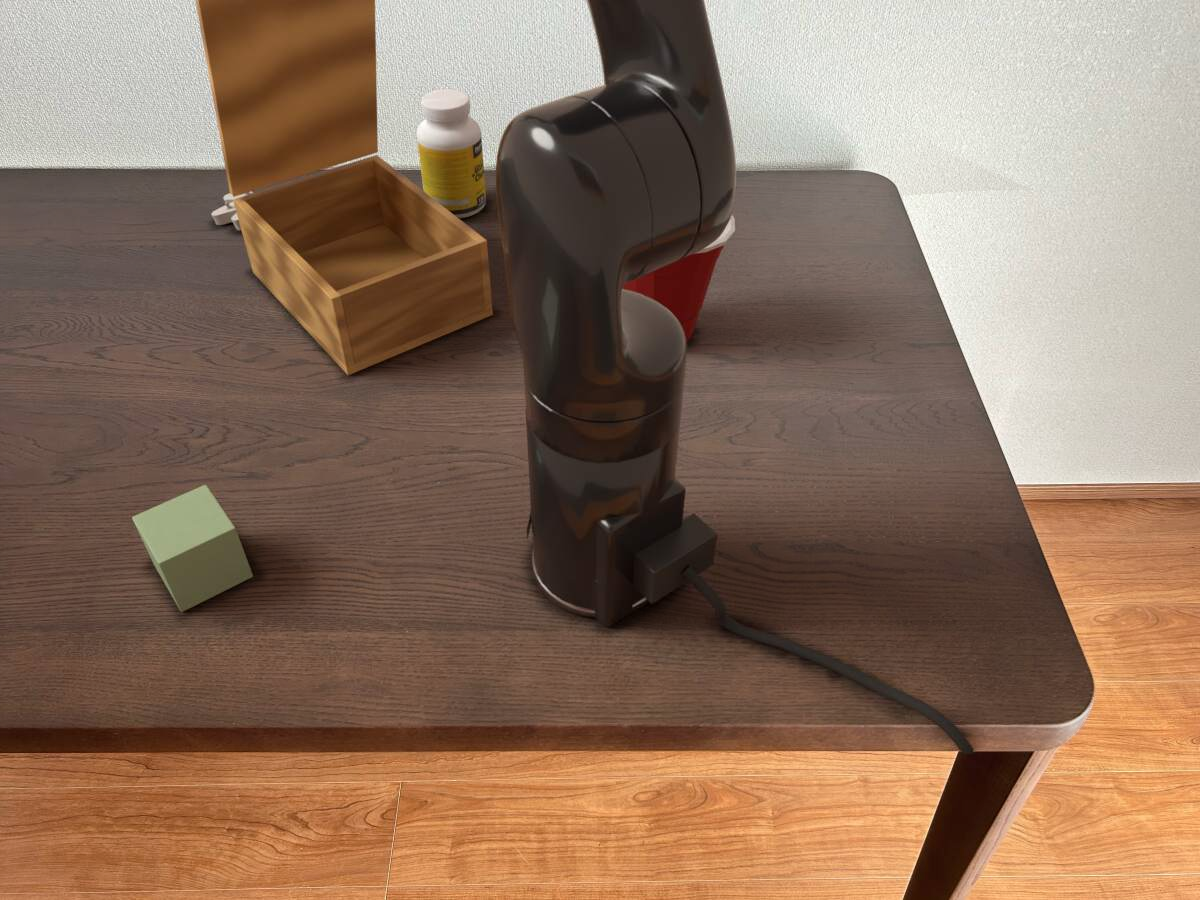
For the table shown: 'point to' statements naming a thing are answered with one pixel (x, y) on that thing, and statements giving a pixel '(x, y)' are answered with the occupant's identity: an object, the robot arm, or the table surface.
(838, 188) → the table surface
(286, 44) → the lid
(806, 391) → the table surface
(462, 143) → the pill bottle
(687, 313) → the plastic cup
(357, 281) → the chest
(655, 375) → the robot arm
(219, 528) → the block
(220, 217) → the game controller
